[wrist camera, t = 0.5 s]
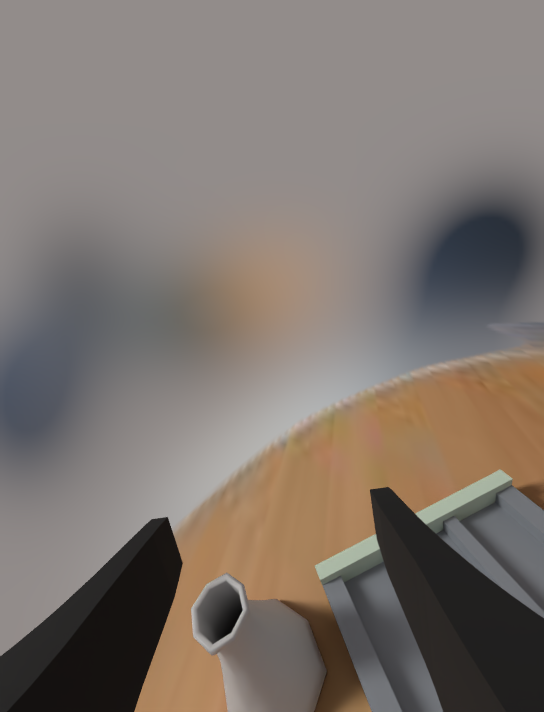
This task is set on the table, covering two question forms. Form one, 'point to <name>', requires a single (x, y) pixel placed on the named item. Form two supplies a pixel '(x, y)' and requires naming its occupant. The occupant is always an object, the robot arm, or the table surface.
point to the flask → (259, 649)
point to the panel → (383, 610)
